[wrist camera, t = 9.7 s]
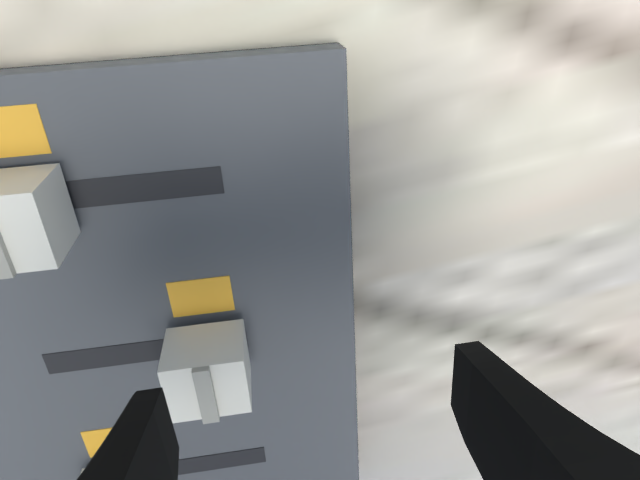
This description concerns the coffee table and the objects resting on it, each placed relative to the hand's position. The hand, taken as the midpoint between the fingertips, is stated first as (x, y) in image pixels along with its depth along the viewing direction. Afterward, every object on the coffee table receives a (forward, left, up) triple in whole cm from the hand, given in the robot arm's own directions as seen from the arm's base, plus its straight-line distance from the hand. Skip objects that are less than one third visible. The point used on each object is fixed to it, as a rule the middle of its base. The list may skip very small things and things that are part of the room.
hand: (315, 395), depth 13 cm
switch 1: (+3, +9, -7) cm, 12 cm away
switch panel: (-4, +7, -9) cm, 12 cm away
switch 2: (-4, +4, -7) cm, 9 cm away
